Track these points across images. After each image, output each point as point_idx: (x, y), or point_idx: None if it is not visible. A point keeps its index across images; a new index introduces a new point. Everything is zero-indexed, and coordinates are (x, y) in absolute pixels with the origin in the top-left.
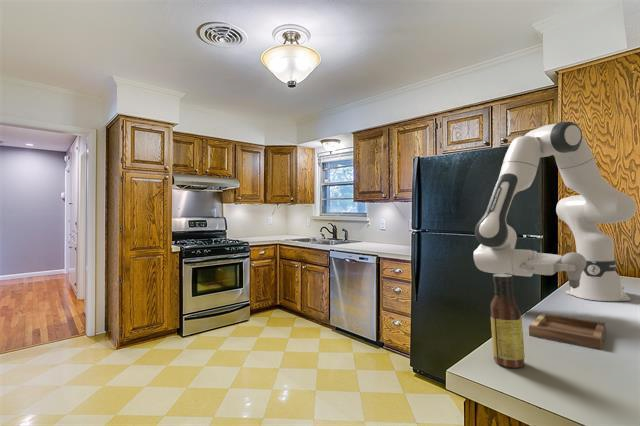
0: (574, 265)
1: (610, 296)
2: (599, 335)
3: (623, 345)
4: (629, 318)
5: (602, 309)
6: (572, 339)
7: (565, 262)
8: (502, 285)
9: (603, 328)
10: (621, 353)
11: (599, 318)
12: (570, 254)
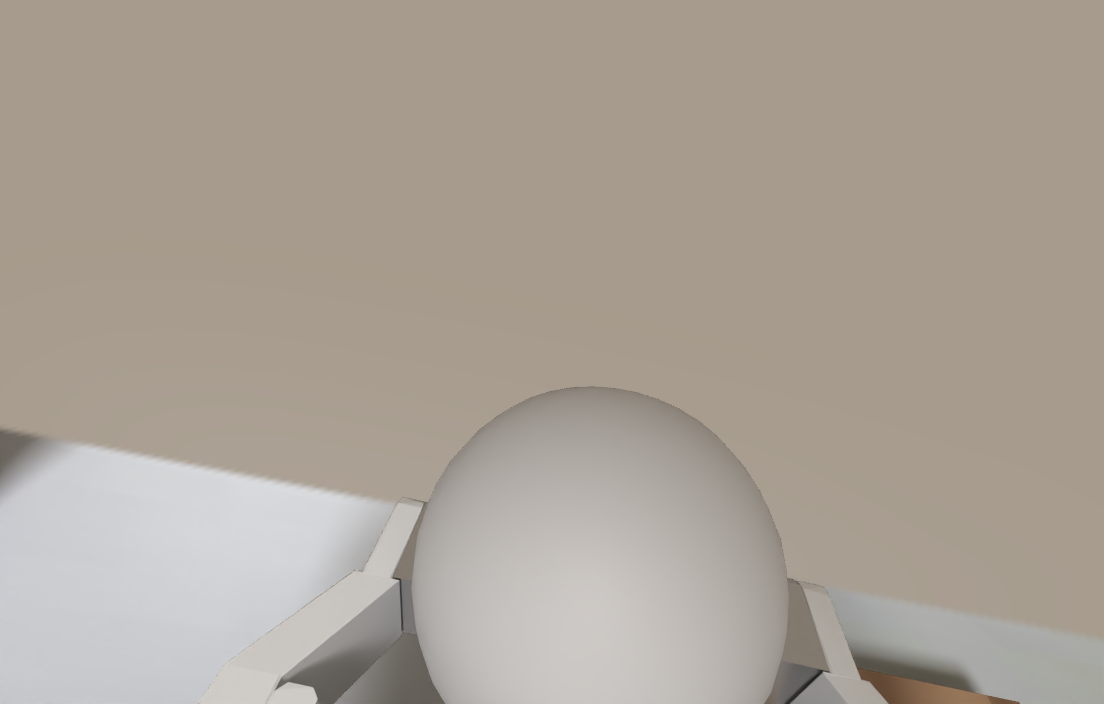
0: (813, 585)
1: None
2: (964, 697)
3: None
4: (371, 516)
5: (168, 604)
6: None
7: (765, 701)
8: None
9: None
10: (939, 642)
11: (413, 653)
12: (741, 512)
